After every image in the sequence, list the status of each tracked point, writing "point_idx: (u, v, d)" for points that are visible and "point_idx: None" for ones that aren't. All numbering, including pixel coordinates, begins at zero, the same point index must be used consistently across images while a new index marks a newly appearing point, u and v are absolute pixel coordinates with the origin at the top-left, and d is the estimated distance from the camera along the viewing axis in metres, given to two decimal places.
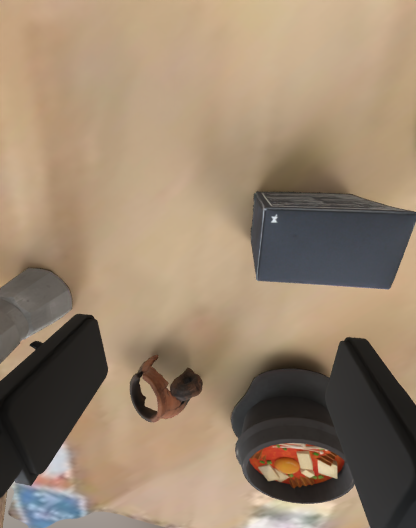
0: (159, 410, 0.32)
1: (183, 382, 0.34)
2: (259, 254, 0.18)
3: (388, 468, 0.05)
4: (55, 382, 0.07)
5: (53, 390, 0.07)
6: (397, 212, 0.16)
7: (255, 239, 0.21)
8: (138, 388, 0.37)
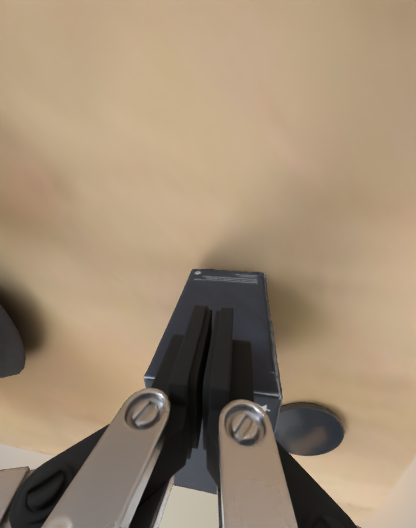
0: None
1: None
2: None
3: None
4: (203, 365, 0.08)
5: (202, 373, 0.08)
6: None
7: None
8: None
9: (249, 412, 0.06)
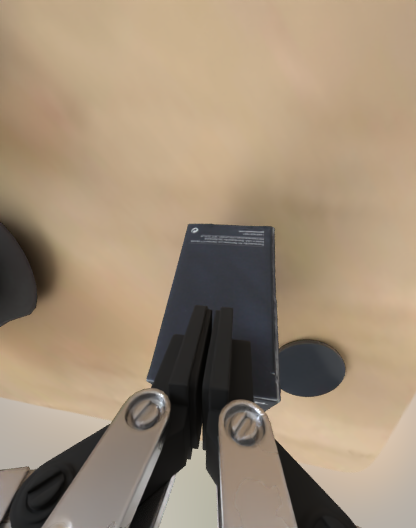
0: None
1: None
2: None
3: None
4: (203, 365, 0.08)
5: (203, 373, 0.08)
6: None
7: None
8: None
9: (248, 412, 0.06)
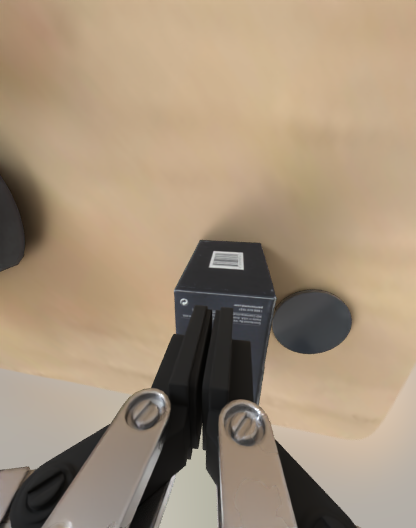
0: None
1: None
2: None
3: None
4: (203, 365, 0.08)
5: (203, 373, 0.08)
6: None
7: None
8: None
9: (249, 412, 0.06)
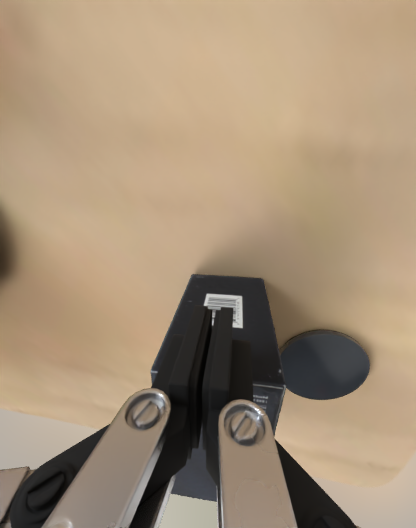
0: None
1: None
2: None
3: None
4: (203, 365, 0.08)
5: (203, 373, 0.08)
6: None
7: (203, 469, 0.13)
8: None
9: (249, 412, 0.06)
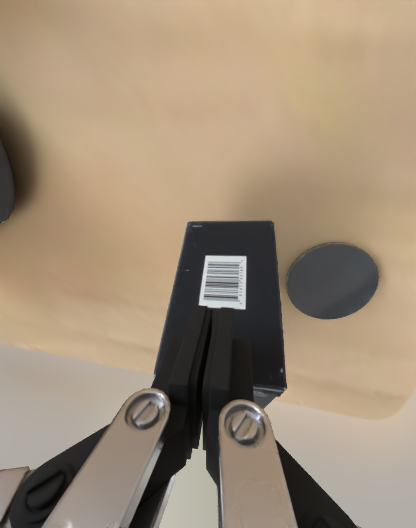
0: None
1: None
2: None
3: None
4: (203, 365, 0.08)
5: (203, 373, 0.08)
6: None
7: None
8: None
9: (249, 412, 0.06)
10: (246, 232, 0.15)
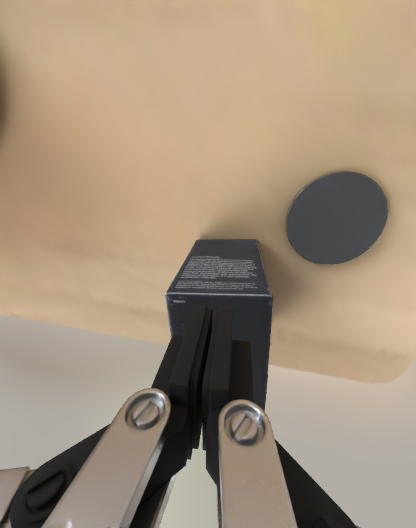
0: None
1: None
2: None
3: None
4: (203, 365, 0.08)
5: (203, 373, 0.08)
6: None
7: None
8: None
9: (249, 412, 0.06)
10: (238, 312, 0.13)
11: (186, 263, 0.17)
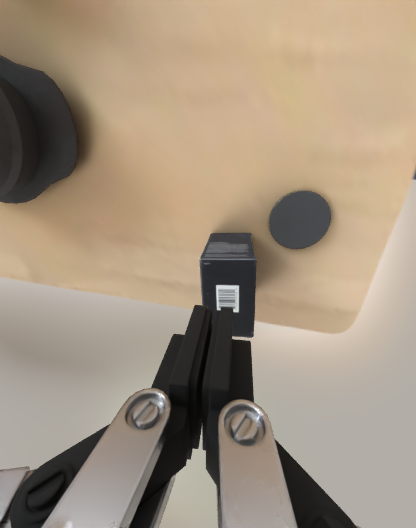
0: None
1: None
2: None
3: None
4: (203, 365, 0.08)
5: (203, 372, 0.08)
6: None
7: None
8: None
9: (249, 412, 0.06)
10: (238, 269, 0.25)
11: (208, 246, 0.29)
